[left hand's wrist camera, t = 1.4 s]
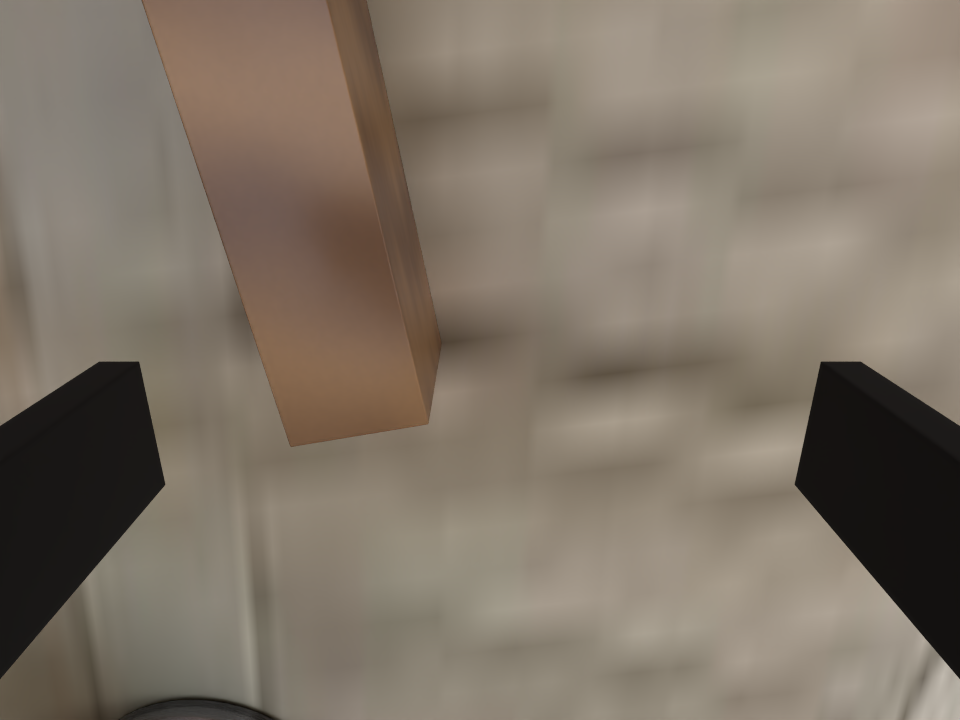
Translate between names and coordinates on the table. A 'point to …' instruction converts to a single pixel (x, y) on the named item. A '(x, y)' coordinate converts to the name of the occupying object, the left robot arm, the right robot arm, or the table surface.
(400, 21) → the table surface
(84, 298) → the table surface
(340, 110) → the beam
